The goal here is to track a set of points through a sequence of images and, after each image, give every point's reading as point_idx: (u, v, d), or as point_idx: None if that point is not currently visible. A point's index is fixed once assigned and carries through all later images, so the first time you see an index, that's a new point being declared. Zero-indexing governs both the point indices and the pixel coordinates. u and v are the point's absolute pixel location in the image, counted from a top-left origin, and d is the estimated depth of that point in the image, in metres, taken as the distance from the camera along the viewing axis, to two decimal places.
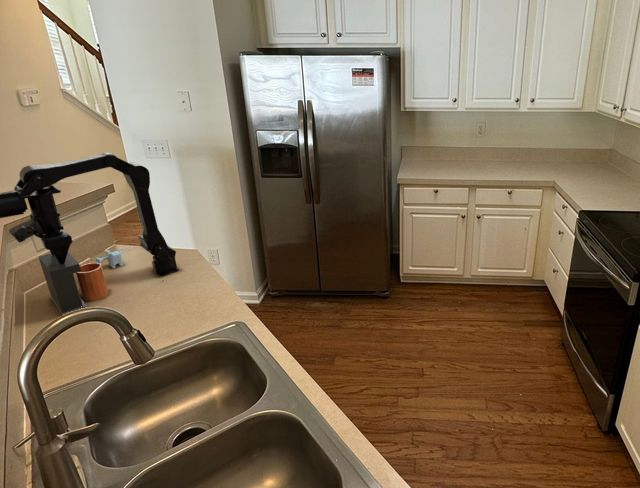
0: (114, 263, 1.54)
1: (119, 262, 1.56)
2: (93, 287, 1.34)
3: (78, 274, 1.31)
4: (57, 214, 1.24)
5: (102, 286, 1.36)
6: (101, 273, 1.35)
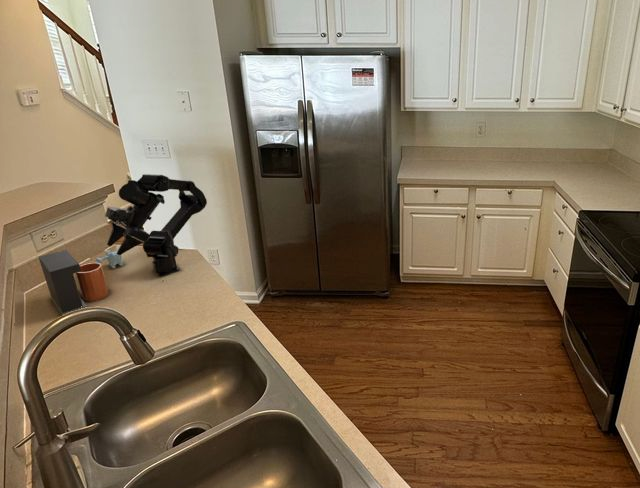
0: (114, 263, 1.54)
1: (119, 262, 1.56)
2: (93, 287, 1.34)
3: (78, 274, 1.31)
4: (149, 217, 1.42)
5: (102, 286, 1.36)
6: (101, 273, 1.35)
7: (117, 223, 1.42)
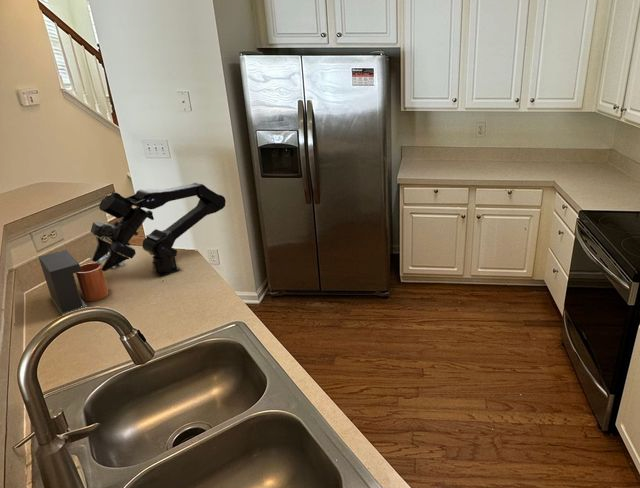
0: None
1: None
2: (93, 287, 1.34)
3: (78, 274, 1.31)
4: (136, 233, 1.40)
5: (102, 286, 1.36)
6: (101, 273, 1.35)
7: (103, 238, 1.40)
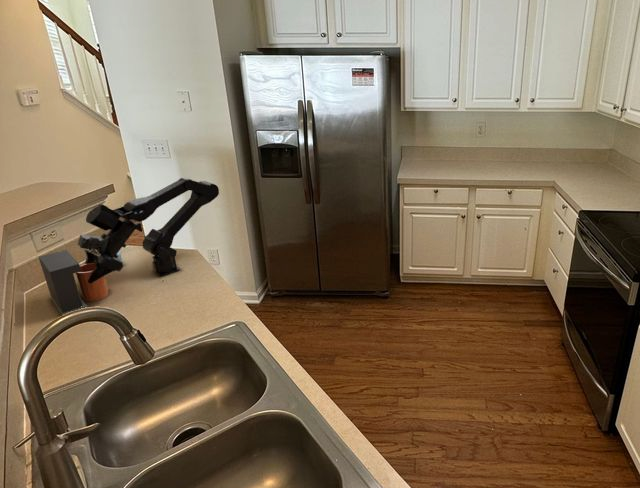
0: None
1: None
2: (93, 287, 1.34)
3: (78, 274, 1.31)
4: (124, 245, 1.38)
5: (102, 286, 1.36)
6: None
7: (92, 252, 1.38)
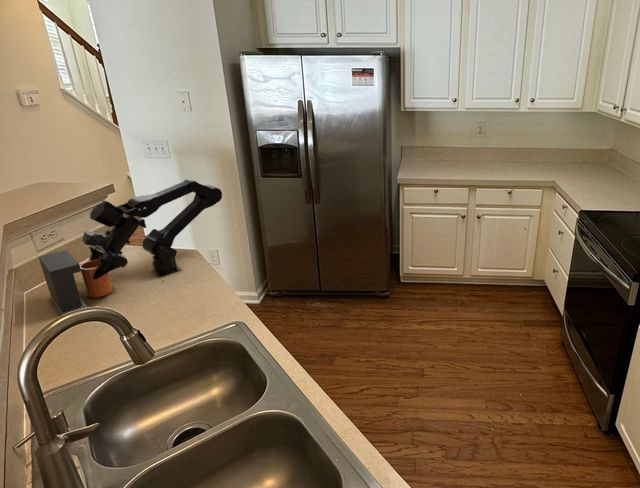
0: None
1: None
2: (97, 283, 1.34)
3: (83, 270, 1.32)
4: (128, 241, 1.39)
5: (106, 283, 1.37)
6: None
7: (96, 248, 1.39)
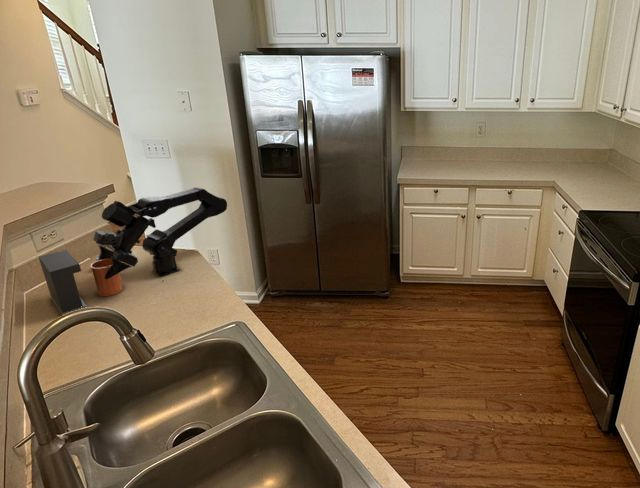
0: None
1: None
2: (108, 282, 1.37)
3: (94, 270, 1.34)
4: (138, 241, 1.41)
5: (116, 282, 1.39)
6: None
7: (105, 246, 1.41)
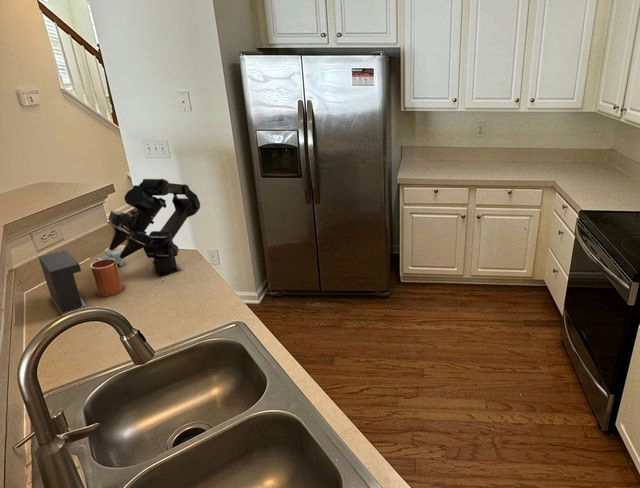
0: None
1: (119, 262, 1.56)
2: (108, 282, 1.37)
3: (94, 270, 1.34)
4: (152, 222, 1.43)
5: (116, 282, 1.39)
6: (116, 269, 1.38)
7: (119, 227, 1.43)
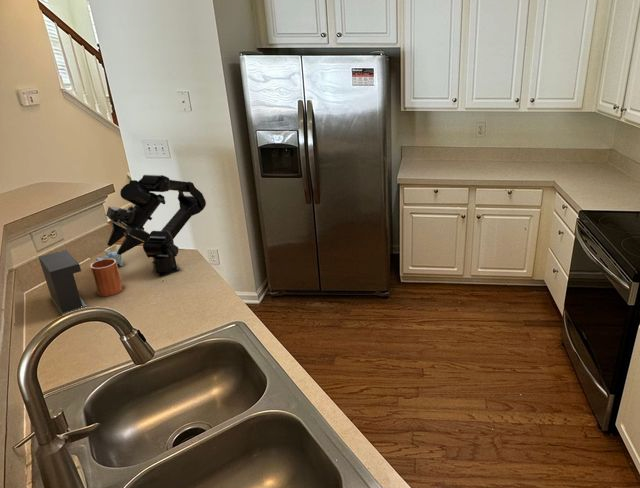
0: None
1: (119, 262, 1.56)
2: (108, 282, 1.37)
3: (94, 270, 1.34)
4: (150, 218, 1.42)
5: (116, 282, 1.39)
6: (116, 269, 1.38)
7: (117, 223, 1.42)
